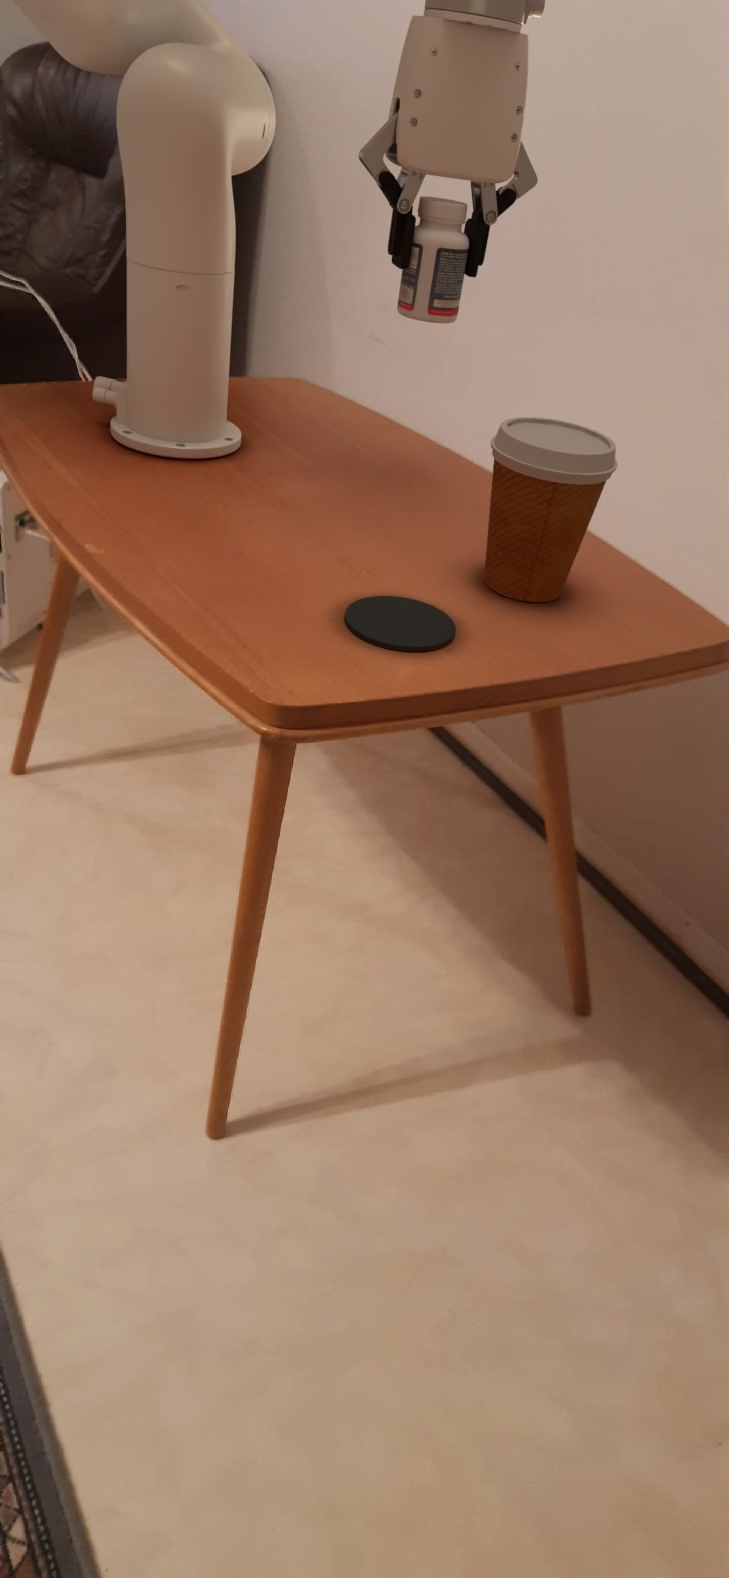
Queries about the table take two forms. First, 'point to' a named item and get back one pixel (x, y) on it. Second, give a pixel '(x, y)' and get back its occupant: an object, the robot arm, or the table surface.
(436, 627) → the corner coaster
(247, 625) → the table surface
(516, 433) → the disposable coffee cup
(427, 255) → the pill bottle
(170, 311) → the robot arm
